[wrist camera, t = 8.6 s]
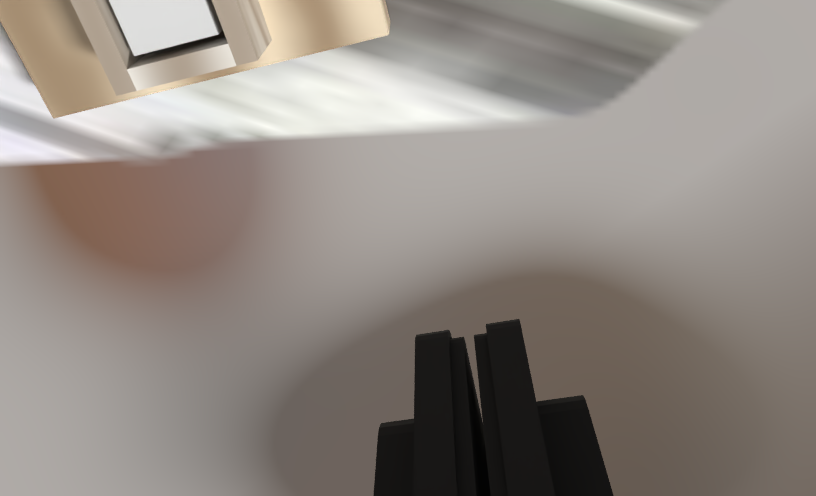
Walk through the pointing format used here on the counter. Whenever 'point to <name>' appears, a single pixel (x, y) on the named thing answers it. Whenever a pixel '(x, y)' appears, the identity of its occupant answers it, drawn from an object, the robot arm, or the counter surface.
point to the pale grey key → (165, 22)
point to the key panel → (178, 65)
